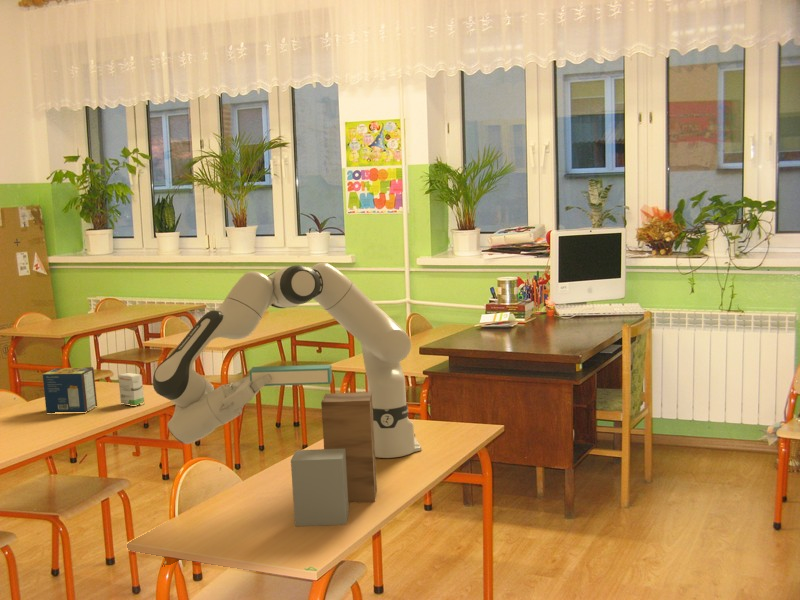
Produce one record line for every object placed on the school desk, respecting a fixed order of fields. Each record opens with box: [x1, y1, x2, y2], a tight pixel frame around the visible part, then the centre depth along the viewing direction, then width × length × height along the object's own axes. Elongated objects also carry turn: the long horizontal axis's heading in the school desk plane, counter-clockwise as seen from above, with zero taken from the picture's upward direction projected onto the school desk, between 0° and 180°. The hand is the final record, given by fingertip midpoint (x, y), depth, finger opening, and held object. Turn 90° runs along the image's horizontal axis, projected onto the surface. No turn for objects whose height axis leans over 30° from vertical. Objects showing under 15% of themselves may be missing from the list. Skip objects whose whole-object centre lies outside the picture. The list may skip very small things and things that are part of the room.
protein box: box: [42, 366, 98, 413], centre depth 331 cm, size 10×15×16 cm
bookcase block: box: [320, 391, 378, 504], centre depth 225 cm, size 9×12×26 cm
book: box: [249, 364, 333, 387], centre depth 223 cm, size 5×20×4 cm, turn 88°
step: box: [290, 448, 350, 527], centre depth 211 cm, size 8×12×16 cm, turn 88°
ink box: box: [117, 372, 145, 405], centre depth 337 cm, size 9×5×12 cm, turn 54°
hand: (272, 374), depth 224 cm, fingers closed on book, 5 cm apart
